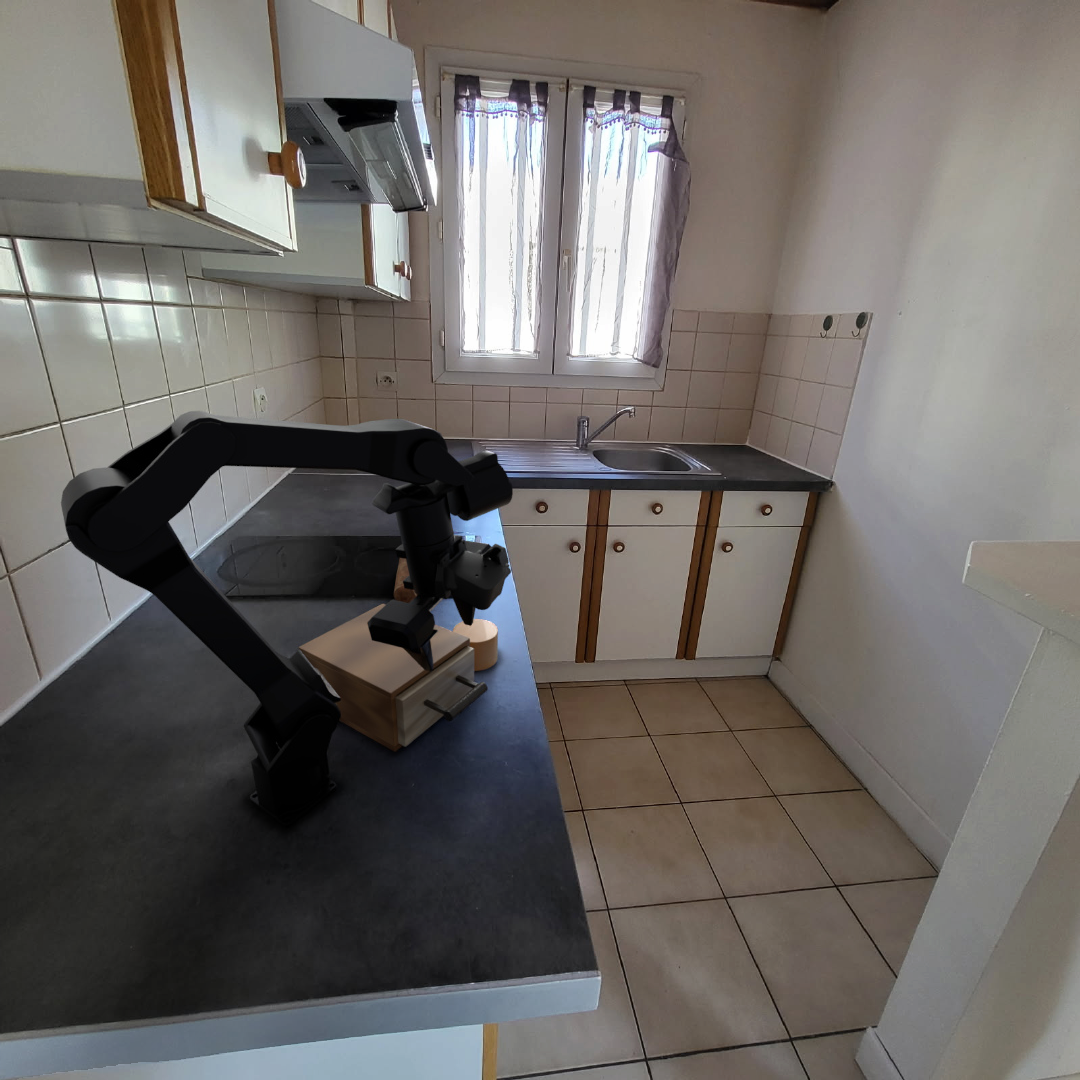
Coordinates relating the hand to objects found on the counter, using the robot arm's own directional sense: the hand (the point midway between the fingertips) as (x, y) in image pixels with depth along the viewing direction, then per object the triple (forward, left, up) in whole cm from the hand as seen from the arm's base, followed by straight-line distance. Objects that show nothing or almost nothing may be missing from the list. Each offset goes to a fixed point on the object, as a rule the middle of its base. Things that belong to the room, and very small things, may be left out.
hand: (449, 646), depth 69 cm
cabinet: (-1, +10, -11) cm, 15 cm away
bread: (+26, +31, -11) cm, 42 cm away
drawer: (-1, +6, -10) cm, 12 cm away
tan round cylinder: (+13, +6, -11) cm, 18 cm away
